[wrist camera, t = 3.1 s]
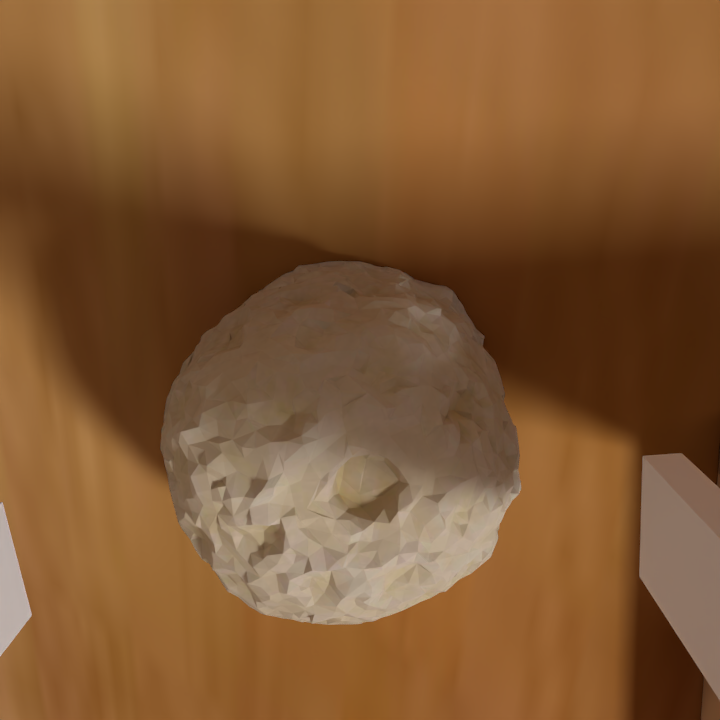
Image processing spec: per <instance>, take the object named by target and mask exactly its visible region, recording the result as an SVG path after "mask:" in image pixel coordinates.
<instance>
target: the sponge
mask: <svg viewBox="0 0 720 720" xmlns="http://www.w3.org/2000/svg"><path fill="white" fill-rule="evenodd" d="M484 337H485V336H484V335H483V334H482V333H480V332H479V331H478V330H477V329H476V328H475V326H474V324H473V322H472V321H471V319H470V318H469V316H468V315H467V314H466V312H465V309H464V307H463V305H462V303H461V302H460V301H459V299H458V298H457V296H456V295H455V293H454V291H452V290H451V289H449V288H448V287H446V286H441V285H434V284H430V283H426V282H423V281H419V280H415V279H414V278H412V277H411V276H409V275H408V274H406V273H403V272H402V271H401V270H398V269H394V268H390V267H378V266H374V265H372V264H368V263H365V262H361V261H330V262H322V263H316V264H310V265H299V266H298V267H296V268H295V270H293V271H291V272H288V273H286V274H284V275H282V276H281V277H279V278H277V279H276V280H274V281H273V282H271V283H270V284H268V285H267V286H266V287H265V288H264V289H261V290H259V291H258V293H256V294H254V295H251V296H250V298H249V299H247V300H246V301H245V302H244V303H243V304H242V305H241V306H240V307H238V308H237V309H236V310H234V311H233V312H231V313H229V314H227V315H225V316H224V317H223V318H222V320H221V321H220V323H219V324H218V325H217V326H216V327H214V328H212V329H210V330H208V331H206V332H205V333H204V334H203V335H202V336H201V340H200V342H199V344H198V345H197V346H196V347H195V350H194V352H193V353H192V354H191V355H190V356H189V357H188V358H187V359H186V360H185V361H184V362H183V364H182V367H181V370H180V373H179V375H178V376H177V378H176V379H175V380H174V382H173V384H172V387H171V390H170V392H169V394H168V397H167V400H166V406H165V412H164V425H163V427H162V429H161V435H162V436H161V444H160V450H161V452H162V454H163V457H164V463H165V468H166V471H167V475H168V482H169V488H170V492H171V496H172V500H173V504H174V508H175V511H176V515H177V519H178V522H179V524H180V526H181V528H182V530H183V531H184V532H185V533H186V535H187V536H188V537H189V538H190V540H191V542H192V544H193V546H194V548H195V550H196V551H197V553H198V554H199V556H200V557H201V558H202V560H204V561H206V562H207V563H209V564H210V565H211V567H212V569H213V570H214V571H215V572H216V574H217V575H218V577H219V579H220V580H221V582H222V584H223V585H224V587H225V588H226V590H227V591H228V592H230V593H232V594H234V595H235V596H237V597H239V598H240V599H241V600H242V601H244V602H245V603H246V604H247V605H248V606H249V607H251V608H253V609H255V610H256V611H258V612H260V613H262V614H264V615H270V616H275V617H280V618H284V619H293V620H296V621H300V622H309V623H311V624H312V623H318V624H327V625H331V624H361V623H362V622H371V621H375V620H377V619H379V618H382V617H386V616H389V615H392V614H394V613H397V612H400V611H403V610H405V609H407V608H409V607H411V606H413V605H415V604H417V603H419V602H421V601H424V600H426V599H429V598H431V597H433V596H435V595H436V594H438V593H440V592H446V591H447V590H448V589H449V588H450V587H451V586H452V585H454V584H455V583H456V582H457V581H458V580H459V579H461V578H463V577H465V576H467V575H469V574H471V573H472V572H473V571H474V570H476V569H477V568H478V567H479V566H480V565H482V564H483V563H484V562H485V561H487V560H488V559H489V558H490V557H491V555H492V552H493V550H494V547H495V545H496V543H497V540H498V530H499V524H500V522H501V521H502V519H503V516H504V514H505V511H506V509H507V508H508V507H509V505H510V504H511V501H512V500H513V499H514V498H515V497H516V496H518V495H519V494H520V493H519V492H520V490H521V481H520V478H519V472H518V468H519V456H520V455H519V445H518V437H517V430H516V426H515V425H514V424H513V423H512V420H511V418H510V416H509V413H508V411H507V409H506V406H505V403H504V397H505V392H504V387H503V385H502V380H501V377H500V374H499V371H498V368H497V365H496V362H495V360H494V359H493V358H492V357H491V356H490V354H489V353H488V352H487V351H486V350H485V349H484V348H483V342H484Z"/></svg>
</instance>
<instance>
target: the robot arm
mask: <svg viewBox="0 0 720 720" xmlns="http://www.w3.org/2000/svg"><path fill="white" fill-rule="evenodd" d="M639 577H640V578H641V580H642V581H643V583H644V585H645V586H646V588H647V589H648V591H649V592H650V594H651V595H652V597H653V598H654V600H655V601H656V603H657V605H658V606H659V608H660V609H661V611H662V612H663V614H664V615H665V617H666V618H667V620H668V622H669V623H670V625H671V626H672V628H673V629H674V631H675V632H676V634H677V635H678V637H679V639H680V640H681V642H682V643H683V645H684V646H685V648H686V649H687V651H688V652H689V654H690V656H691V657H692V659H693V660H694V662H695V663H696V665H697V666H698V668H699V669H700V671H701V673H702V674H703V676H704V677H705V679H706V680H707V682H708V683H709V685H710V686H711V688H712V689H713V691H714V693H715V694H716V696H717V697H718V699H719V700H720V488H719V487H718V486H717V485H716V484H715V483H713V482H712V481H711V480H710V479H709V478H708V477H707V476H706V475H705V474H704V473H703V472H702V471H701V470H699V469H698V468H697V467H696V466H695V465H694V464H693V463H692V462H691V461H690V460H689V459H688V458H687V457H685V456H684V455H683V454H682V453H675V454H661V455H647V456H643V458H642V494H641V530H640V566H639ZM31 616H32V614H31V610H30V606H29V603H28V599H27V595H26V591H25V587H24V583H23V579H22V576H21V572H20V568H19V564H18V560H17V556H16V552H15V549H14V545H13V541H12V537H11V533H10V529H9V526H8V522H7V518H6V514H5V510H4V506H3V502H0V656H1V655H2V653H3V652H4V651H5V649H6V648H7V647H8V646H9V644H10V643H11V642H12V640H13V639H14V638H15V636H16V635H17V634H18V633H19V631H20V630H21V629H22V627H23V626H24V625H25V623H26V622H27V621H28V620H29V618H30V617H31Z"/></svg>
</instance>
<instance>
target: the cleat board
mask: <svg viewBox="0 0 720 720" xmlns="http://www.w3.org/2000/svg"><path fill="white" fill-rule="evenodd" d="M717 486H718V487H719V488H720V450H719V465H718V479H717ZM701 720H720V700H719V699H718V697H717V696H716V694H715V693H714V691H713V689H712V688H711V686H710V685H709V683H708V682H707V680H706V679H705V677H704V682H703V696H702V711H701Z"/></svg>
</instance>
